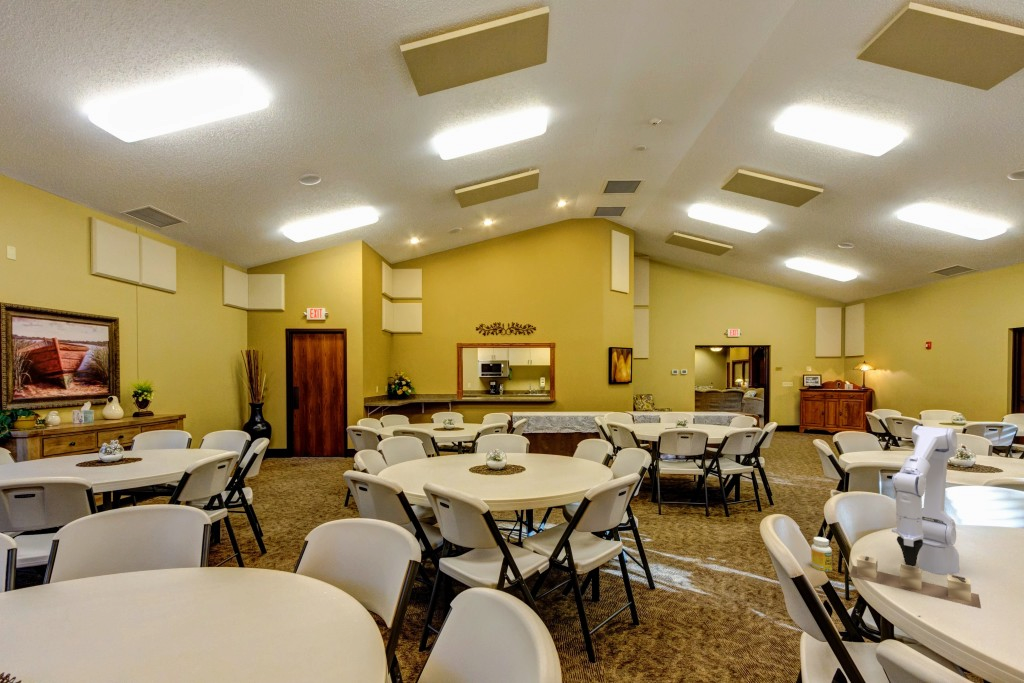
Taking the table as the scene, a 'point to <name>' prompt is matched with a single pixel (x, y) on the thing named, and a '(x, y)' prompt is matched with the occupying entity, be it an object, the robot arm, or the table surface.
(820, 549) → the supplement bottle
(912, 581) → the plain block
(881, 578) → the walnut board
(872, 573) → the block one
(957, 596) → the block seven
